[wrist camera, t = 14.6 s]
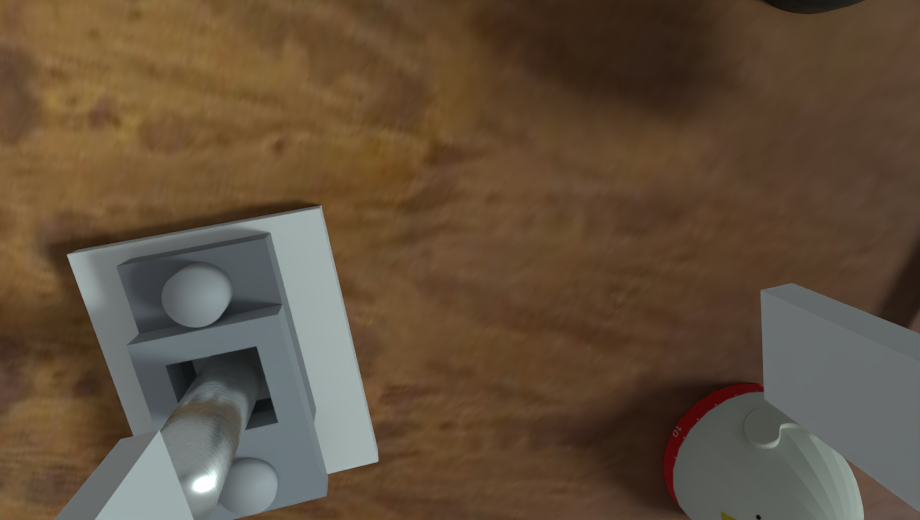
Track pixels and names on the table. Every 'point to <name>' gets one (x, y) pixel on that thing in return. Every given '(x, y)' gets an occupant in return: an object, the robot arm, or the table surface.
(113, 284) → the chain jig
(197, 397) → the pin
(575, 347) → the table surface
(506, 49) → the table surface
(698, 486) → the kitchen timer
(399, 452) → the table surface
